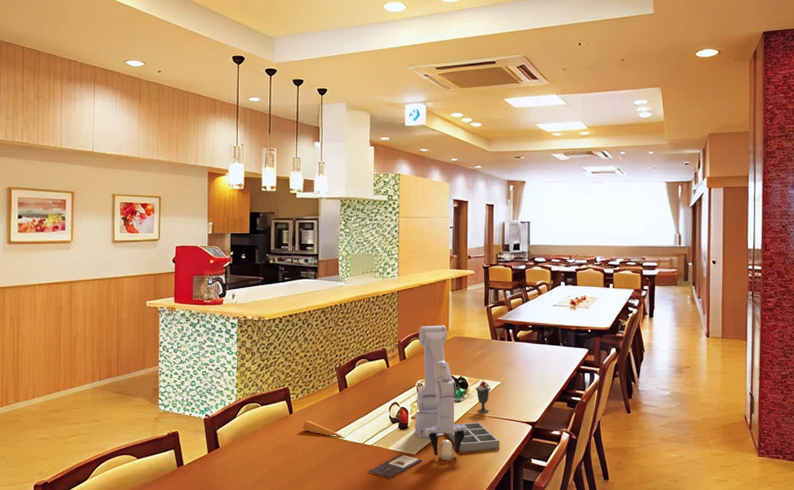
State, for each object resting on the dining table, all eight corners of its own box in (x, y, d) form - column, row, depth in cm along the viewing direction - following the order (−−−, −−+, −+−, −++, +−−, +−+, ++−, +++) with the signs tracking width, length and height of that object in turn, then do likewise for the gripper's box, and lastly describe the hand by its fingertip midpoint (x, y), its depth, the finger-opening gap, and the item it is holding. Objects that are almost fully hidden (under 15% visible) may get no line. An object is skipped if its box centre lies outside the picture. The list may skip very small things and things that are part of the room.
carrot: (302, 433, 235) (300, 424, 233) (309, 425, 239) (306, 417, 237) (343, 446, 225) (341, 437, 224) (349, 438, 229) (348, 429, 227)
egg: (442, 460, 203) (441, 442, 203) (438, 455, 208) (438, 438, 207) (454, 459, 204) (453, 441, 204) (450, 454, 208) (450, 437, 208)
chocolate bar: (368, 471, 193) (400, 454, 208) (368, 473, 193) (400, 457, 208) (390, 477, 188) (421, 460, 202) (390, 480, 188) (421, 462, 202)
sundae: (479, 414, 254) (479, 380, 254) (473, 409, 260) (472, 376, 260) (493, 412, 256) (493, 378, 255) (486, 408, 262) (486, 375, 262)
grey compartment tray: (461, 452, 211) (461, 443, 210) (444, 432, 231) (444, 425, 231) (499, 448, 213) (499, 440, 213) (479, 429, 234) (479, 422, 234)
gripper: (428, 420, 200) (429, 459, 200) (469, 416, 203) (469, 455, 203) (423, 413, 207) (424, 452, 207) (462, 410, 210) (463, 448, 210)
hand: (446, 453), depth 206 cm, fingers open, 7 cm apart
